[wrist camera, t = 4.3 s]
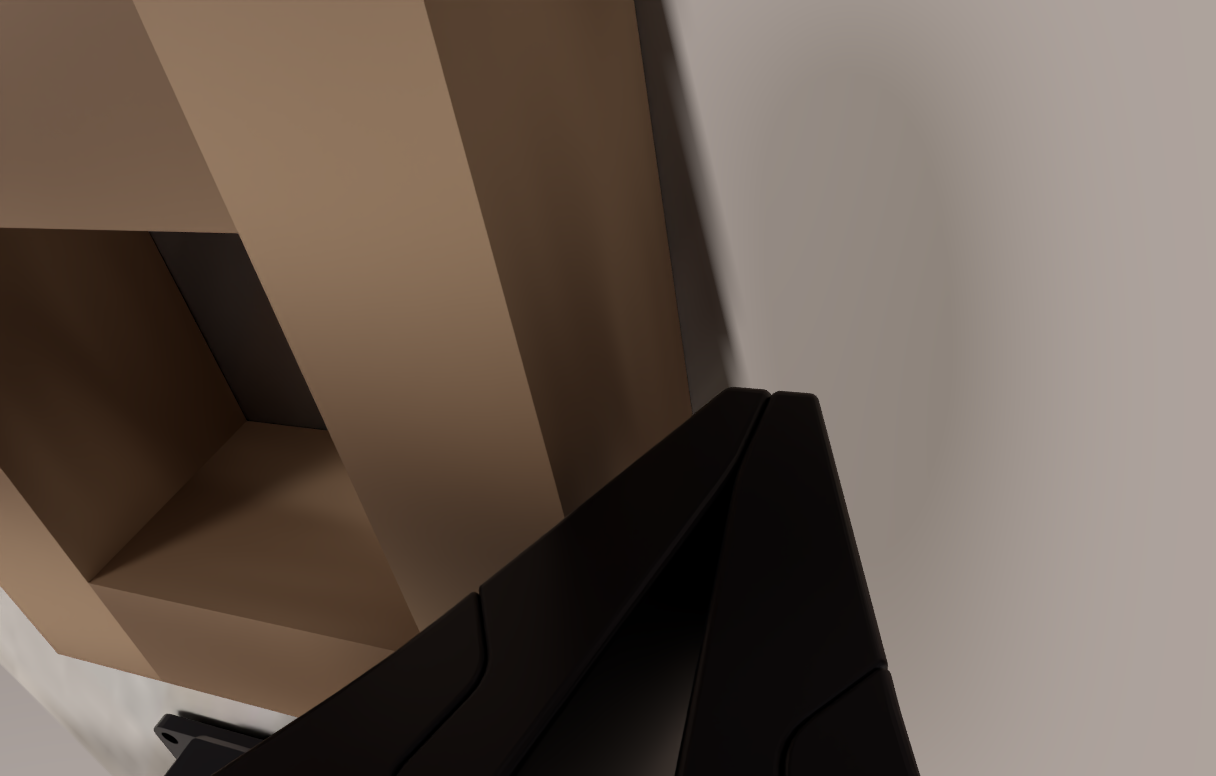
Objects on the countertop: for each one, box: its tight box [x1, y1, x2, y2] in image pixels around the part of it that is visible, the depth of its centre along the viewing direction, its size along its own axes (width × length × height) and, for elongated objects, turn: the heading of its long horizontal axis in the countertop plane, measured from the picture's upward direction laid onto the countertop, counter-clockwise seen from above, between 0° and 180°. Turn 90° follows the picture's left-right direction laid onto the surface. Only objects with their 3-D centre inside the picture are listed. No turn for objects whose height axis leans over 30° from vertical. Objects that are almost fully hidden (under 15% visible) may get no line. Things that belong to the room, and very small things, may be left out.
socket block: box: [0, 0, 692, 717], centre depth 11 cm, size 10×10×4 cm
